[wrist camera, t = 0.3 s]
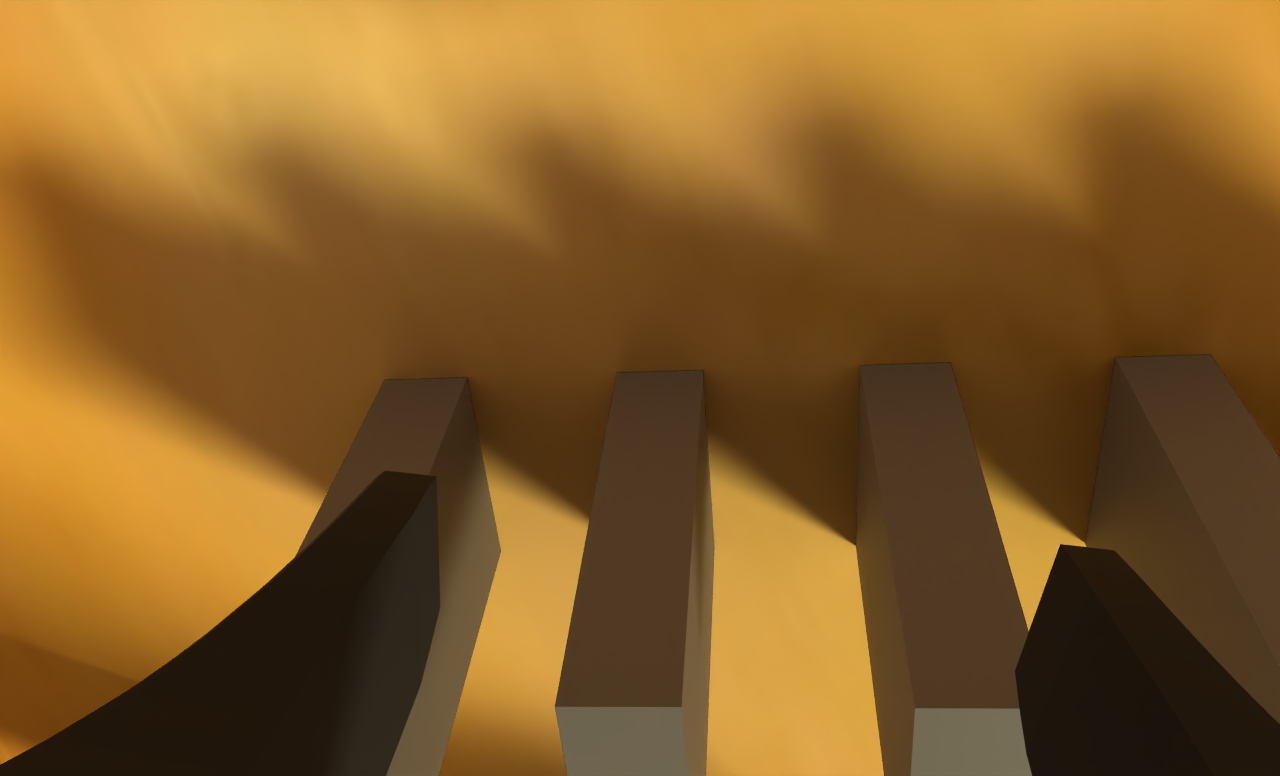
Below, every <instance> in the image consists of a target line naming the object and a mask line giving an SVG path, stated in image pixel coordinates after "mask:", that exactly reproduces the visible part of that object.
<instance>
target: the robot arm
mask: <svg viewBox="0 0 1280 776" xmlns="http://www.w3.org/2000/svg"><path fill="white" fill-rule="evenodd" d="M439 610H440V575H439V540H438V504H437V476H431V475H422V474H412V473H403V472H394V471H384V472H382V473H381V474H380V475H378V476H377V477H376V478H375V479H374V480H373V481H372V482H371V483H370V484H369V485H368V486H367V487H366V488H365V489H364V490H363V491H362V492H361V493H360V494H359V495H358V496H357V497H356V498H355V499H354V500H353V501H352V502H351V503H350V504H349V505H348V506H347V507H346V508H345V509H344V510H343V511H342V512H341V513H340V514H339V515H338V516H337V517H336V519H335V520H334V521H332V522H331V523H330V524H329V525H328V526H327V527H326V528H325V529H324V530H323V531H322V532H321V533H320V534H319V535H318V536H317V537H316V538H315V539H314V540H313V541H312V542H311V543H310V544H309V545H308V546H307V547H306V548H305V549H303V550H302V551H301V552H300V553H299V554H298V555H297V556H296V557H295V558H294V559H293V560H292V561H290V562H289V563H288V564H287V565H286V566H285V567H284V568H283V569H282V570H281V571H280V572H279V573H278V574H276V575H275V576H274V577H273V578H272V579H271V580H270V581H269V582H268V583H267V584H265V585H264V586H263V587H262V588H261V589H260V590H259V591H257V592H256V593H255V594H254V595H253V596H251V597H250V598H249V599H248V600H247V601H245V602H244V603H243V604H242V605H241V606H239V607H238V608H237V609H236V610H234V611H233V612H232V613H231V614H230V615H228V616H227V617H226V618H225V619H224V620H222V621H221V622H220V623H219V624H218V625H216V626H215V627H214V628H213V629H212V630H210V631H209V632H208V633H207V634H205V635H204V636H203V637H201V638H200V639H199V640H197V641H196V642H195V643H194V644H192V645H191V646H190V647H188V648H187V649H186V650H184V651H183V652H182V653H180V654H179V655H178V656H176V657H175V658H174V659H172V660H171V661H169V662H168V663H167V664H165V665H164V666H162V667H161V668H160V669H158V670H157V671H155V672H154V673H152V674H151V675H150V676H148V677H147V678H145V679H144V680H142V681H141V682H140V683H138V684H137V685H135V686H134V687H132V688H131V689H129V690H128V691H126V692H124V693H123V694H121V695H120V696H118V697H117V698H115V699H113V700H112V701H110V702H109V703H107V704H105V705H104V706H102V707H100V708H99V709H97V710H95V711H94V712H92V713H90V714H89V715H87V716H85V717H84V718H82V719H81V720H79V721H77V722H76V723H74V724H72V725H71V726H69V727H67V728H66V729H64V730H62V731H61V732H59V733H57V734H56V735H54V736H52V737H51V738H49V739H47V740H45V741H44V742H42V743H40V744H38V745H37V746H35V747H33V748H31V749H29V750H27V751H25V752H23V753H22V754H20V755H18V756H16V757H14V758H12V759H10V760H8V761H7V762H5V763H3V764H1V765H0V776H386V775H387V772H388V770H389V767H390V764H391V762H392V759H393V757H394V754H395V752H396V749H397V746H398V744H399V741H400V739H401V736H402V733H403V731H404V728H405V725H406V723H407V720H408V717H409V715H410V712H411V710H412V707H413V704H414V702H415V699H416V696H417V694H418V691H419V688H420V685H421V682H422V678H423V675H424V671H425V667H426V663H427V659H428V655H429V651H430V647H431V643H432V639H433V635H434V631H435V627H436V623H437V618H438V614H439ZM1015 677H1016V685H1017V693H1018V701H1019V709H1020V716H1021V723H1022V729H1023V736H1024V742H1025V749H1026V754H1027V758H1028V762H1029V766H1030V769H1031V773H1032V776H1280V724H1279V723H1278V722H1277V721H1276V720H1275V719H1274V718H1273V717H1272V716H1271V715H1270V714H1269V713H1268V712H1267V711H1266V710H1265V709H1264V708H1263V707H1262V706H1261V705H1260V704H1259V703H1258V702H1257V701H1256V700H1255V699H1254V698H1253V697H1252V696H1251V695H1250V694H1249V693H1248V692H1247V691H1246V690H1245V689H1244V688H1243V687H1242V686H1241V685H1240V684H1239V683H1238V682H1237V681H1236V680H1235V679H1234V678H1233V677H1232V676H1231V675H1230V674H1229V673H1228V672H1227V671H1226V670H1225V669H1224V667H1223V666H1222V665H1221V664H1220V663H1219V662H1218V661H1217V660H1216V659H1215V658H1214V657H1213V656H1212V655H1211V654H1210V653H1209V652H1208V651H1207V649H1206V648H1205V647H1204V646H1203V645H1202V644H1201V643H1200V642H1199V641H1198V640H1197V639H1196V638H1195V637H1194V636H1193V634H1192V633H1191V632H1190V631H1189V630H1188V629H1187V628H1186V627H1185V626H1184V625H1183V624H1182V622H1181V621H1180V620H1179V619H1178V618H1177V617H1176V616H1175V615H1174V614H1173V613H1172V612H1171V610H1170V609H1169V608H1168V607H1167V606H1166V605H1165V604H1164V603H1163V602H1162V601H1161V599H1160V598H1159V597H1158V596H1157V595H1156V594H1155V593H1154V592H1153V591H1152V590H1151V589H1150V587H1149V586H1148V585H1147V584H1146V583H1145V582H1144V581H1143V580H1142V579H1141V578H1140V577H1139V575H1138V574H1137V573H1136V572H1135V571H1134V570H1133V569H1132V568H1131V567H1130V566H1129V565H1128V564H1127V563H1126V562H1125V561H1124V560H1123V559H1122V558H1121V557H1120V555H1119V554H1118V553H1117V552H1116V551H1115V550H1108V549H1099V548H1090V547H1080V546H1071V545H1062V544H1060V547H1059V550H1058V552H1057V555H1056V558H1055V561H1054V564H1053V566H1052V569H1051V572H1050V575H1049V577H1048V580H1047V583H1046V586H1045V589H1044V591H1043V594H1042V597H1041V600H1040V602H1039V605H1038V608H1037V611H1036V614H1035V616H1034V619H1033V622H1032V625H1031V627H1030V630H1029V633H1028V636H1027V639H1026V641H1025V644H1024V647H1023V650H1022V652H1021V655H1020V658H1019V661H1018V664H1017V666H1016V669H1015Z"/></svg>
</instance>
